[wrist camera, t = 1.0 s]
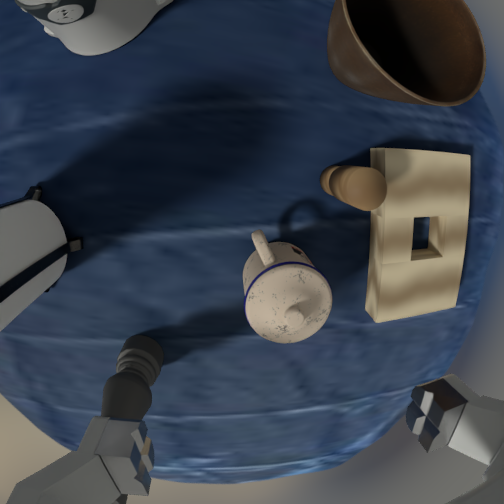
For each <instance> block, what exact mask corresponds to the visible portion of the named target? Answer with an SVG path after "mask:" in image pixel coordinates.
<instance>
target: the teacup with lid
mask: <svg viewBox="0 0 504 504" xmlns="http://www.w3.org/2000/svg"><path fill="white" fill-rule="evenodd" d="M252 239H253V242H254V244H255V246H256V249H257V250H255V251H254V252H253V253H252V254H251V255H250V257H249V258H248V260H247V262H246V264H245V267H244V271H243V283H244V291H245V299H244V312H245V316H246V319H247V321H248V323H249V324H250V326H251V327H252V328H253V330H254V331H255V332H257V333H258V334H259V335H260V336H262V337H263V338H265V339H267V340H270V341H273V342H278V343H293V342H298V341H301V340H303V339H306V338H308V337H309V336H311V335H313V334H314V333H315V332H317V331H318V330H319V329H320V328H321V327H322V325H323V324H324V323H325V321H326V320H327V318H328V316H329V314H330V311H331V307H332V291H331V287H330V284H329V282H328V280H327V279H326V277H325V276H324V275H323V274H322V273H321V272H320V271H319V270H318V269H316V268H315V267H314V265H313V264H312V263H311V261H310V260H309V259H308V257H307V256H306V255H305V253H304V252H303V251H302V250H301V249H299V248H298V247H296V246H294V245H292V244H290V243H285V242H273V243H269V244H268V242H267V240H266V238H265V235H264V233H263V231H262V230H256V231H254V232H253V233H252Z"/></svg>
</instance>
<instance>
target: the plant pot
mask: <svg viewBox="0 0 504 504" xmlns="http://www.w3.org/2000/svg"><path fill="white" fill-rule="evenodd" d="M327 53H328V61H329V65H330V68H331V70H332V72H333V74H334V75H335V76H336V77H337V79H338V80H339V81H340V82H342V83H343V84H345V85H346V86H348V87H350V88H352V89H354V90H356V91H359V92H362V93H364V94H367V95H371V96H374V97H378V98H382V99H387V100H393V101H398V102H404V103H411V104H422V105H434V106H455V105H459V104H462V103H464V102H466V101H468V100H469V99H471V98H472V97H473V96H474V95H475V94H476V93H477V91H478V90H479V88H480V86H481V84H482V82H483V79H484V76H485V69H486V52H485V46H484V41H483V38H482V34H481V32H480V29H479V27H478V24H477V22H476V20H475V18H474V16H473V14H472V12H471V11H470V9H469V8H468V6H467V5H466V3H465V2H464V1H463V0H336V1H335V3H334V7H333V10H332V14H331V18H330V22H329V28H328V37H327Z"/></svg>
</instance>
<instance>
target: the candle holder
mask: <svg viewBox="0 0 504 504" xmlns="http://www.w3.org/2000/svg"><path fill="white" fill-rule="evenodd" d="M163 359H164V353H163V350H162V348H161V346H160V345H159V344H158V343H157V342H156V341H155V340H153V339H151V338H150V337H147V336H142V335H136V336H132V337H130V338H128V339H127V340H126V342H125V344H124V346H123V348H122V350H121V352H120V354H119V356H118V358H117V361H118V362H117V364H116V372H117V374H115V375H113V376H111V377H110V378H109V379H108V380H107V382H106V384H105V386H104V390H103V400H102V411H101V416H102V417H110V418H111V417H114V418H124V419H136V420H142V418H143V417H144V415H145V414H146V412H147V411H148V409H149V408H150V406H151V403H152V393H151V390H150V388H149V387H150V386H152V385H153V384H154V382H155V381H156V378H157V377H158V375H159V374H160V371H161V367H162V363H163ZM120 494H121V493H120ZM127 496H128V494H121V495H120V496H119V497H118V498H117V499H116V500H115V501H114V502H113V503H112V504H126V501H127Z"/></svg>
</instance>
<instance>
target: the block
mask: <svg viewBox="0 0 504 504" xmlns="http://www.w3.org/2000/svg"><path fill="white" fill-rule="evenodd" d="M370 158H371V168H374V169H376V170H378V171H379V172H380V173H381V174H382V175H383V176H384V178H385V180H386V183H387V195H386V198H385V200H384V202H383V203H382V204H381V205H380V206H379V207H378V208H376V209H374V210H371V228H370V252H369V269H368V283H367V295H366V305H365V310H366V311H367V312H368V313H369V315H370V316H371V317H372V318H373V320H374V321H375V322H376V323H379V322H384V321H390V320H395V319H401V318H406V317H411V316H416V315H421V314H425V313H430V312H435V311H439V310H444V309H448V308H452V307H455V305H456V300H457V295H458V290H459V285H460V279H461V273H462V267H463V260H464V253H465V245H466V236H467V226H468V214H469V198H470V155H465V154H456V153H447V152H436V151H425V150H411V149H395V148H370ZM414 217H430V227H429V239H428V249H418V250H412V239H413V224H414Z"/></svg>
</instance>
